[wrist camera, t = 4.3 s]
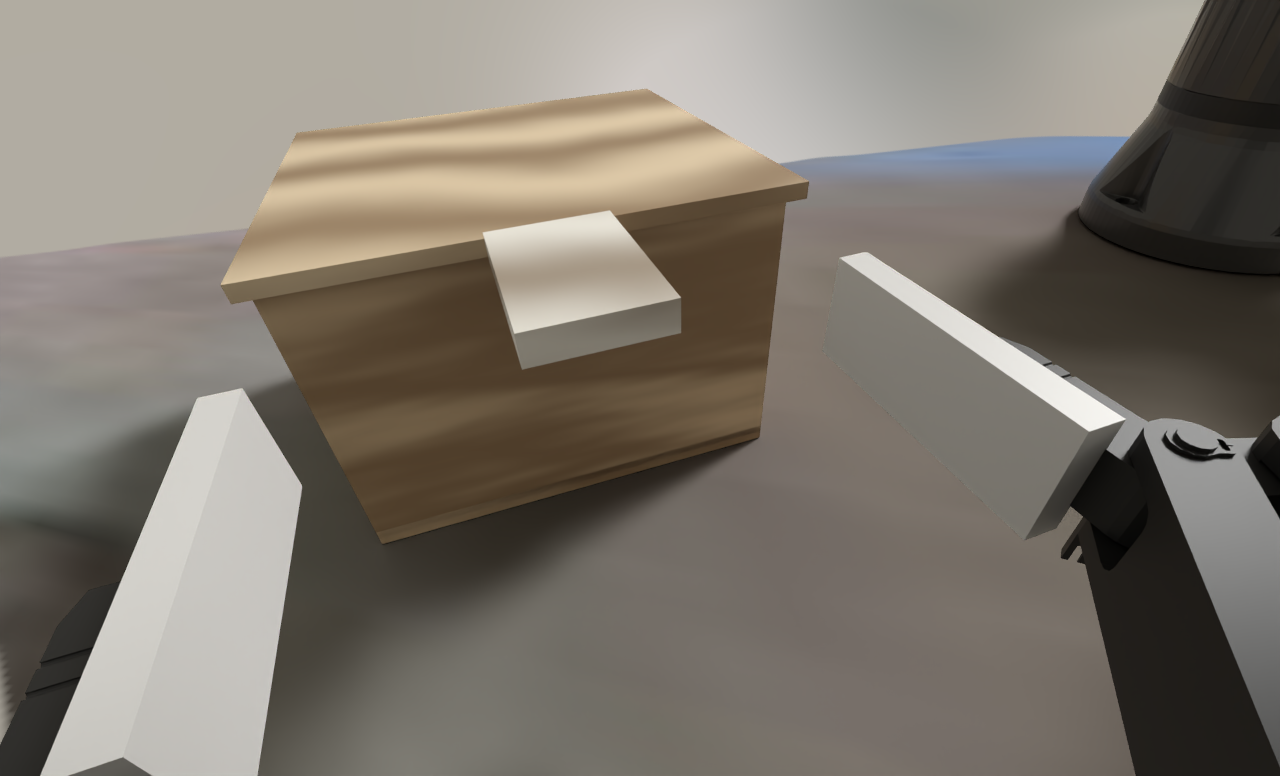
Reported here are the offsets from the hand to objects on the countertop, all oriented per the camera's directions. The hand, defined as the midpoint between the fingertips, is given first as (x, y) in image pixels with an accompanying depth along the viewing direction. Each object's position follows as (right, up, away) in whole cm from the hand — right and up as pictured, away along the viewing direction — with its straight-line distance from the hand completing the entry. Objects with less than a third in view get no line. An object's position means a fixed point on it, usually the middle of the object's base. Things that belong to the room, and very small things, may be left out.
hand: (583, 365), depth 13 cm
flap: (-3, +7, +9) cm, 12 cm away
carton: (-4, -1, +20) cm, 20 cm away
